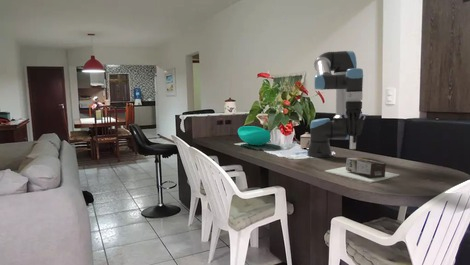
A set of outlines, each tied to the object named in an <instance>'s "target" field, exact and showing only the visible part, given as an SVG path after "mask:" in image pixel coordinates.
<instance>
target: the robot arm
mask: <svg viewBox="0 0 470 265" xmlns="http://www.w3.org/2000/svg"><path fill="white" fill-rule="evenodd" d="M313 65H314V66H313V67H314V70H315V71H316V75H315V76H314V83H313V84H314V89H315V90H320V91H322V90H323V91H325V90H335V115H334V116H333V117H332V118H333V119H332V120H331V119H330V118H328V117H327V118H317V119H312V120H311V122H310V127H309V129H310V133H309V134H310V146H309V149H307V154H306V155H307V156H308V155H309V156H308V157H311V156H313V158H331V157H332V156H333V152H332V149H331V145H330V140H344V141H345V140H348V142H349V149H350V150H356V149H357V142H358V136H360V135H362V131H363V128H364V123H365V121H366V119H367V115H364V114H363V112H362V108H363V85H364V84H363V83H364V70H363V68H359V67H357V65H358V64H357V57H356V53H355V52H354V51H353V50H352V51H351V50H341V51H327V52H323V53H321V54H319V56H317V57H316V59H315V60H314V64H313ZM332 72H333V74H332Z"/></svg>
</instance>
